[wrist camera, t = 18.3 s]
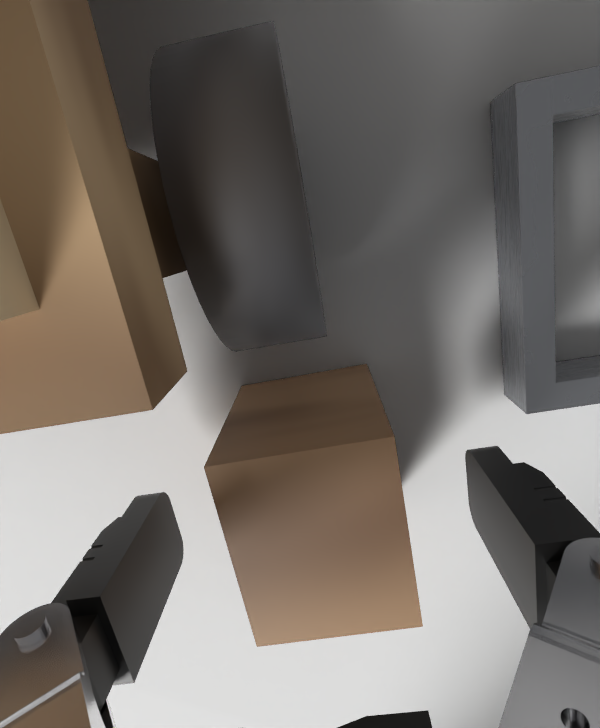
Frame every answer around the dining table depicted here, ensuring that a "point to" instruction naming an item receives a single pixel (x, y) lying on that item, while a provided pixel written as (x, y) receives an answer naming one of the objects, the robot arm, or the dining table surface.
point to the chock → (314, 508)
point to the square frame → (535, 239)
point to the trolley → (140, 214)
